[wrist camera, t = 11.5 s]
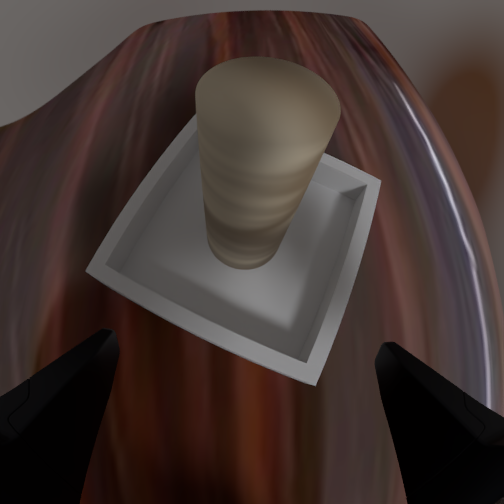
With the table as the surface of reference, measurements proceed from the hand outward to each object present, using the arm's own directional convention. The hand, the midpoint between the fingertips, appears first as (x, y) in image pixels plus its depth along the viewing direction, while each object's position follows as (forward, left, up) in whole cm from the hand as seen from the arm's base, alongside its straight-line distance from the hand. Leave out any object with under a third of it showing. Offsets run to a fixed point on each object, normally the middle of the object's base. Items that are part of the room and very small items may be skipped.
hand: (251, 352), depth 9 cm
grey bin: (+7, +3, -10) cm, 13 cm away
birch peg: (+7, +3, -9) cm, 12 cm away
